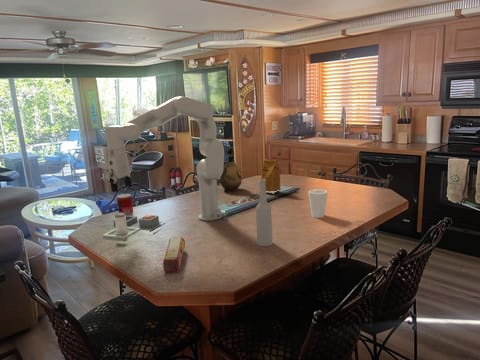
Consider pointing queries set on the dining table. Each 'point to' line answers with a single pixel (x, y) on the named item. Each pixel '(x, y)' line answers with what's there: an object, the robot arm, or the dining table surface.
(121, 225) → the cylinder
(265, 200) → the bottle
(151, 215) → the tan rounded piece
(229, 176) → the ceramic jug
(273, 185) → the coffee package
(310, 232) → the dining table surface
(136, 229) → the tray
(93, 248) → the dining table surface
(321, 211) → the foam cup
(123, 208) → the canned food
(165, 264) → the snack package
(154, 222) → the housing
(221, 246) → the dining table surface
